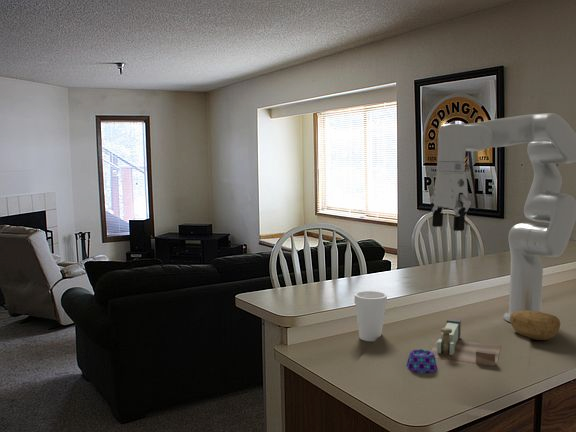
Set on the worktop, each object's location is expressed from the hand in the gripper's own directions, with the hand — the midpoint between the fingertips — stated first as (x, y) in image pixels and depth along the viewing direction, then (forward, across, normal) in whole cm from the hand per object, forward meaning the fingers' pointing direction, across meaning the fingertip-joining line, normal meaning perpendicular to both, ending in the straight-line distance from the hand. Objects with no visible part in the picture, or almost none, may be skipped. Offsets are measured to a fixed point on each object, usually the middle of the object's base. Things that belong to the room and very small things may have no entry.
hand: (447, 228), depth 161 cm
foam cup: (+34, +10, +18) cm, 39 cm away
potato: (+32, -9, -26) cm, 42 cm away
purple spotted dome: (+34, -18, +19) cm, 43 cm away
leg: (+31, -7, +3) cm, 32 cm away
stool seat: (+33, -12, +2) cm, 35 cm away
